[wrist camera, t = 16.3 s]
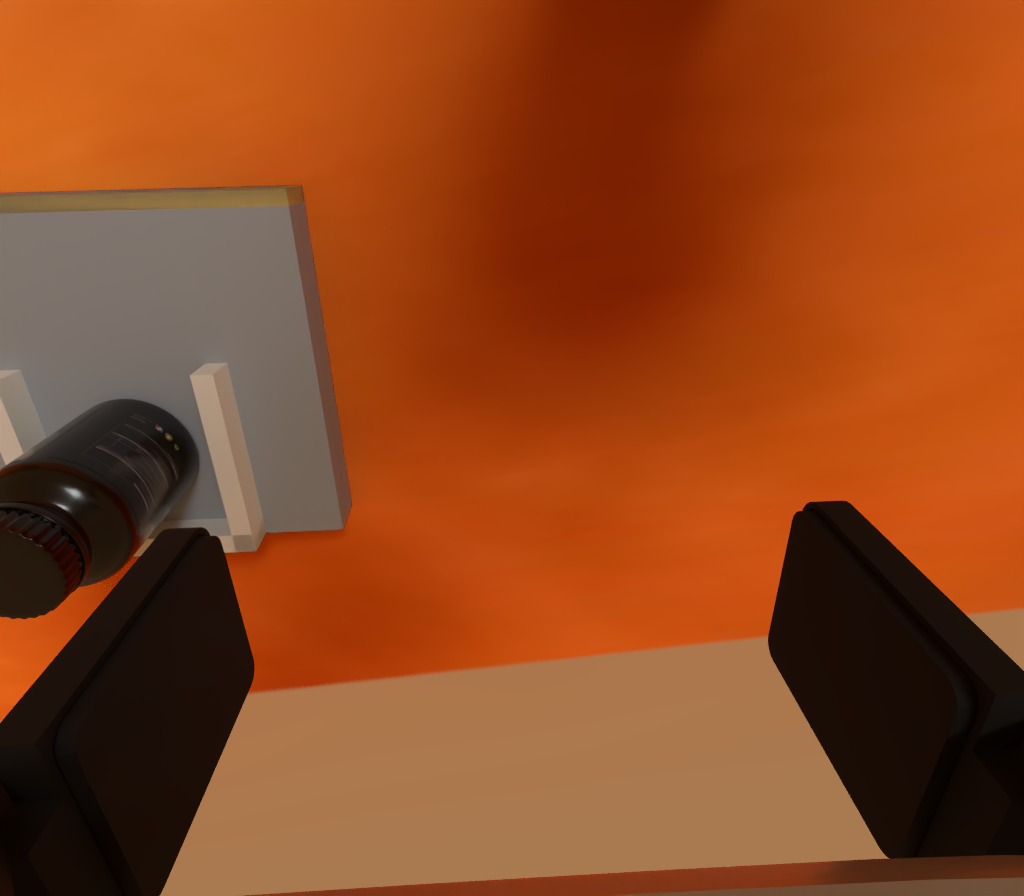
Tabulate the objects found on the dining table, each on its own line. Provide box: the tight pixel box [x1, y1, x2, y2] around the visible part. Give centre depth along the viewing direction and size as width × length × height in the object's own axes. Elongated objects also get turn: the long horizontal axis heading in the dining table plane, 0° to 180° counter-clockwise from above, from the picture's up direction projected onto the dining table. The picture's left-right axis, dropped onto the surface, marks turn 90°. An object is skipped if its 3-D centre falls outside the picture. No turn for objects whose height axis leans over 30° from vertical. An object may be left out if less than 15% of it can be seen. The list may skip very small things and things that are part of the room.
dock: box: [0, 185, 352, 557], centre depth 35 cm, size 20×22×5 cm
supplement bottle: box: [0, 399, 199, 619], centre depth 31 cm, size 7×7×12 cm
